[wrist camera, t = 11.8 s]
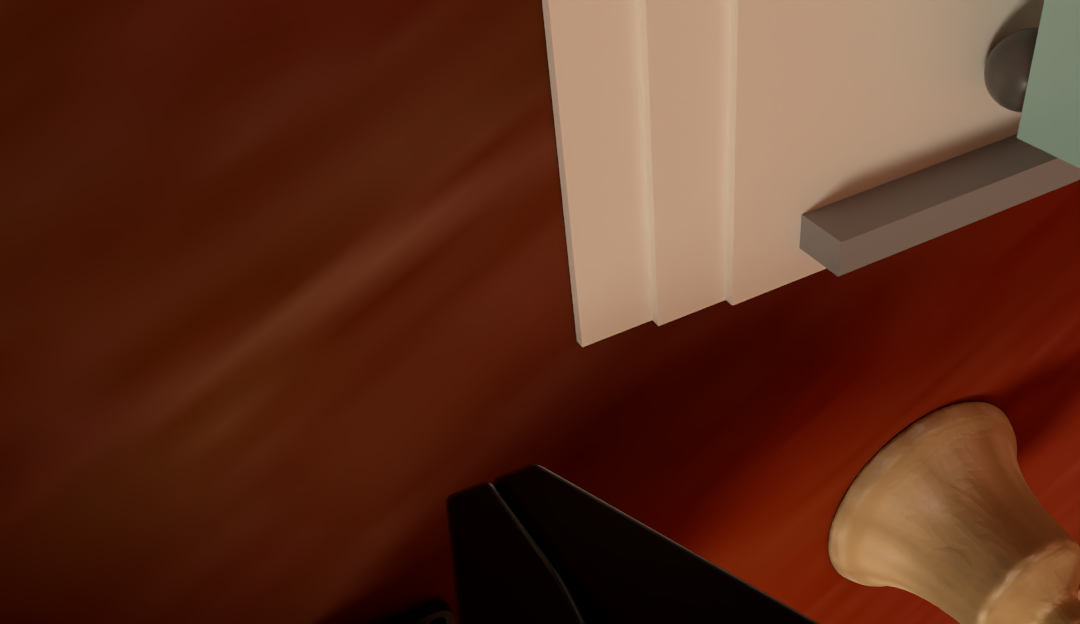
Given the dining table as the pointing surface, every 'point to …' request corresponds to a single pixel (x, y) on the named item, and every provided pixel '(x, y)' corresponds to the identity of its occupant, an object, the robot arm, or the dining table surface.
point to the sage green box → (1042, 80)
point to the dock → (772, 142)
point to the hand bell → (958, 524)
